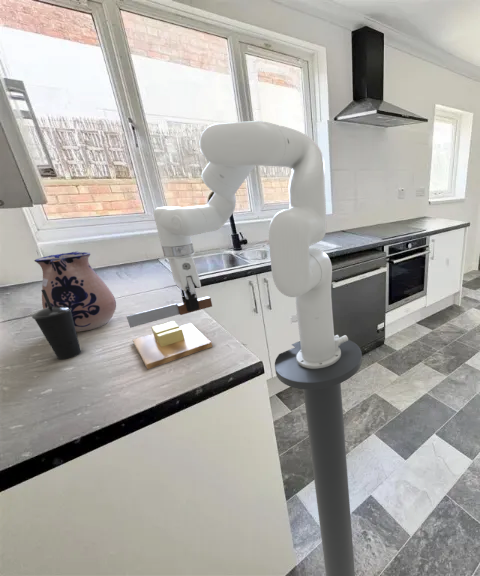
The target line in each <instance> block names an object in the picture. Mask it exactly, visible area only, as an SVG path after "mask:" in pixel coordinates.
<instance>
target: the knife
mask: <svg viewBox="0 0 480 576" xmlns="http://www.w3.org/2000/svg"><path fill="white" fill-rule="evenodd" d="M197 299H198V304H199V309H198V310H194V311H190V312H188V311H187V307H186V303H185V302H183V301H182V302H181V303H173V304H169V305H164V306H161V307H157V308H153V309H148V310H144V311H141V312H136V313H133V314H129V315H126V320H127V322H128V325H129V328H130V329H131V328H134V327H138V326H142V325H146V324H149V323H154V322H157V321H160V320H161V321H162V320H164V319H167V318H172V317H175V316H178V315H180V316H183V315H187V314H191V313H193V312H197V311H201V310H205V309H208V308H211V307H213V302H212V297H210V296H209V295H207V296H204V297H199V298H197Z"/></svg>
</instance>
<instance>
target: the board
mask: <svg viewBox="0 0 480 576" xmlns="http://www.w3.org/2000/svg"><path fill="white" fill-rule="evenodd" d="M178 326H179V328H181V329H182V331H183V335H184V339H185V340H182V341H179V342H176V343H173V344H170V345H166V346H163V347H161V346H160V344H159V343H158V342H157V340H156V339H155V337H154V335H153V333H151V334H147V335H144V336H140V337H136V338H133V339H132V343H133V346H134V347H135V349H136V351H137V353H138V354H139V357H140V358H141V360H142V362H143V364H144V366H145V367H146V369H147V370H150V369H153V368H156V367H159V366H161V365H164V364H168V363H170V362H174V361H176V360H179V359H181V358H184V357H187V356H190V355H192V354H195V353H198V352H202V351H204V350H207V349H209V348H212V347H213V343H212V341H211V340H210V339H209V338H208V337H207V336H205V335H204V334H203V333H202V332H201V331H200V330H199V329H198V328H197V327H196V326H195V325H194V324H193V323H192V322H189V323H185V324H182V325H178Z"/></svg>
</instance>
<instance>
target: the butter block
mask: <svg viewBox="0 0 480 576" xmlns="http://www.w3.org/2000/svg"><path fill="white" fill-rule="evenodd" d="M179 326H180V325H178V324H177V323H176V321H175V320H171V321H167V322H164V323H160V324H157V325H153V326H151V331H152V334H153V335H154V337H155V339H156V340H157V342H158V343H159V340H158V337H157V334H160V333H163V332H167V331H170V330H173V329H177V328H179Z"/></svg>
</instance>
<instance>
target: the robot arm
mask: <svg viewBox="0 0 480 576" xmlns="http://www.w3.org/2000/svg"><path fill="white" fill-rule="evenodd" d="M199 148H200V152H201V154H202V156H203V158H204V159H205V160H206V161H207V164H206V166H205V167H204V169H203V170H202V172H201V179H202V181H203V184H204V185H205V186H206V187H207V188H208V189H209V190H211V192H213V194H212V196H211V197H210V199H209V200H208V202H207V203H206V204H201V205H192V206H191V205H190V206H183V207H181V206H160V207H156V208H155V209H154V210H153V217H154V222H155V226H156V230H157V233H158V238H159V242H160V246H161V250H162V254H163V258H164V259H168V260H169V261H168V262H169V265H170V270H171V274H172V279H173V282H174V284H175V286H177V287H178V288H179V290H180V294H181V301H182V303H183V302H185V303H186V307H187V311H188V312H190V311H194V310H198V309H199V304H198V299H199V298H198V297H197V290H196V288H198V289H200V288H201V287H202V282H201V279H200V276H199V272H198V267H197V265H196V262H195V259H194V257H193V256H195V249H194V245H193V241H192V236H197V235H201V234H206V233H210V232H216V231H217V230H220V229H221V228H222V227H224V225H225V224H226V223H227V222H228V221H229V219H230V218H231V217H232V215H233V214H234V212H235V209H236V205H237V204H236V203H237V197H236V193H237V191H238V190H239V189H240V188H241V186H242V185H243V184H244V182H245V181H246V180H247V178H248V176H249V175H250V174H251V172H252V171H253V170H254V169H255V167H256V166H259V167H261V166H265V167H281V168H282V167H286V168H289V169H290V170H291V174H290V176H289V180H288V198H289V203H288V205H289V207H288V208H284V209H282V210H280V211H278V212H277V213H276V214H275V215H274V216H272V218H271V221H270V223H269V227H268V246H269V257H270V267H271V268H270V269H271V275H272V280H273V283H274V285H275V287H276V289H277V290H278V291H279V292H280V293H281V294H282V295H284V296H286V297H288V298H295V309H296V318H297V325H298V326H297V327H298V334H299V341H300V344H301V350H300V351H299V352H298V353H297V356H296V358H297V362H298V364H299V365H301V366H303V367H305V368H310V369H318V368H324V367H328V366H330V365H332V364H334V363H336V362H337V361H338V360H339V359H340V357H341V350H340V348H339V347H338V346H340V344H341V343H344V342H346V341H348V340H349V337H348V336H347V335H346V334H344V335H342V336H340V335H339V334H336V335H335V328H334V315H333V300H332V281H333V280H332V279H333V265H332V261H331V259H330V257H329V255H328V254H327V253H326V252H325V251H324V250H322V249H320V248H316V247H311V246H313V245H316V244H317V243H319V242H321V241H322V240H323V239H324V238H325V236H326V234H327V205H326V204H327V202H326V166H325V159H324V155H323V152H322V150H321V148H320V146H319V145H318V144H317V143H316V141H315V140H314V139H312V138H311V137H310V136H308V135H307V134H305V133H303V132H301V131H299V130H296V129H294V128H292V127H291V128H290V127H287V126H284V125H279V124H276V123H273V122H268V121H262V120H248V121H236V122H235V121H233V122H220V123H213V124H210V125H208V126H207V127H206V128H205V129H204V130H203V131H202V133H201V135H200V137H199ZM198 311H199V310H198ZM194 312H195V311H194ZM190 313H191V312H190ZM339 337H340V338H339Z"/></svg>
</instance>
